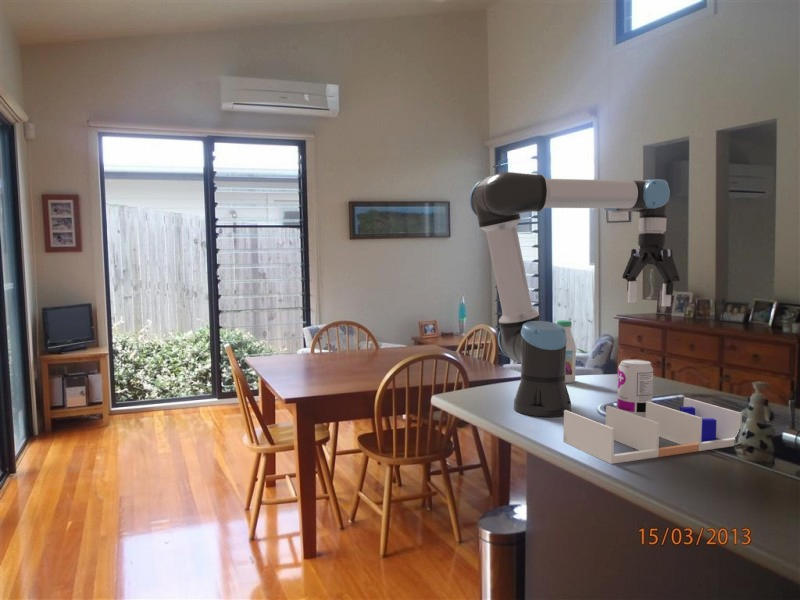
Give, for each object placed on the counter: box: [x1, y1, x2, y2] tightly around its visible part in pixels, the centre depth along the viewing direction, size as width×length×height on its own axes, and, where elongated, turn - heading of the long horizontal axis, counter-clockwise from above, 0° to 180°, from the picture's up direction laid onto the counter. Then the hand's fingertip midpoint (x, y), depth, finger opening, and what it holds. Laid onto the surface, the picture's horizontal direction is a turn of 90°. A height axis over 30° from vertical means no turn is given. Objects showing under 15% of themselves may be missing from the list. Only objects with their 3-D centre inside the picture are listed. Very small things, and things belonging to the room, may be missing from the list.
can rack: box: [562, 397, 743, 465], centre depth 142 cm, size 35×16×7 cm, turn 111°
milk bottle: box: [556, 320, 577, 384], centre depth 209 cm, size 8×8×20 cm
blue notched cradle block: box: [679, 406, 717, 442], centre depth 146 cm, size 12×4×6 cm, turn 179°
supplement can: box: [616, 359, 654, 418], centre depth 161 cm, size 8×8×15 cm
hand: (648, 304), depth 190 cm, fingers open, 13 cm apart
